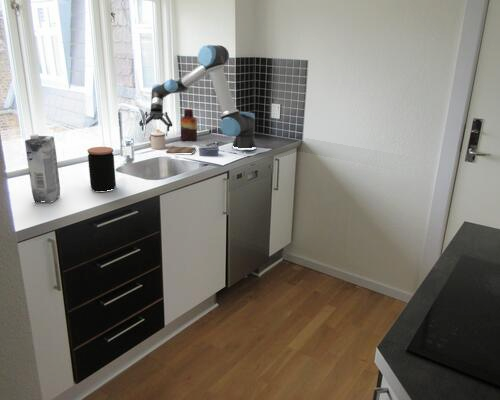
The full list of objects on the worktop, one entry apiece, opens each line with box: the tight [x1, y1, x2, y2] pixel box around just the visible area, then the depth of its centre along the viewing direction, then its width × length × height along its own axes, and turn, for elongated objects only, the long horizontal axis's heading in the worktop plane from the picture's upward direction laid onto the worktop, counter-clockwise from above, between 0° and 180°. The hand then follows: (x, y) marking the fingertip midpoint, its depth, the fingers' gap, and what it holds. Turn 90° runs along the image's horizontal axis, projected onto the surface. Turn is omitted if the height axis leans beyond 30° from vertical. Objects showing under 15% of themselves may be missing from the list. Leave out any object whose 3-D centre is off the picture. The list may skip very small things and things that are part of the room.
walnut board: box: [166, 145, 196, 154], centre depth 264 cm, size 15×14×1 cm
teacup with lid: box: [148, 128, 166, 150], centre depth 269 cm, size 12×9×12 cm
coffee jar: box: [87, 146, 117, 192], centre depth 192 cm, size 11×11×18 cm
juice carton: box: [24, 133, 61, 203], centre depth 176 cm, size 9×10×27 cm
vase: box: [180, 108, 198, 142], centre depth 291 cm, size 11×11×20 cm
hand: (155, 134), depth 270 cm, fingers open, 13 cm apart
